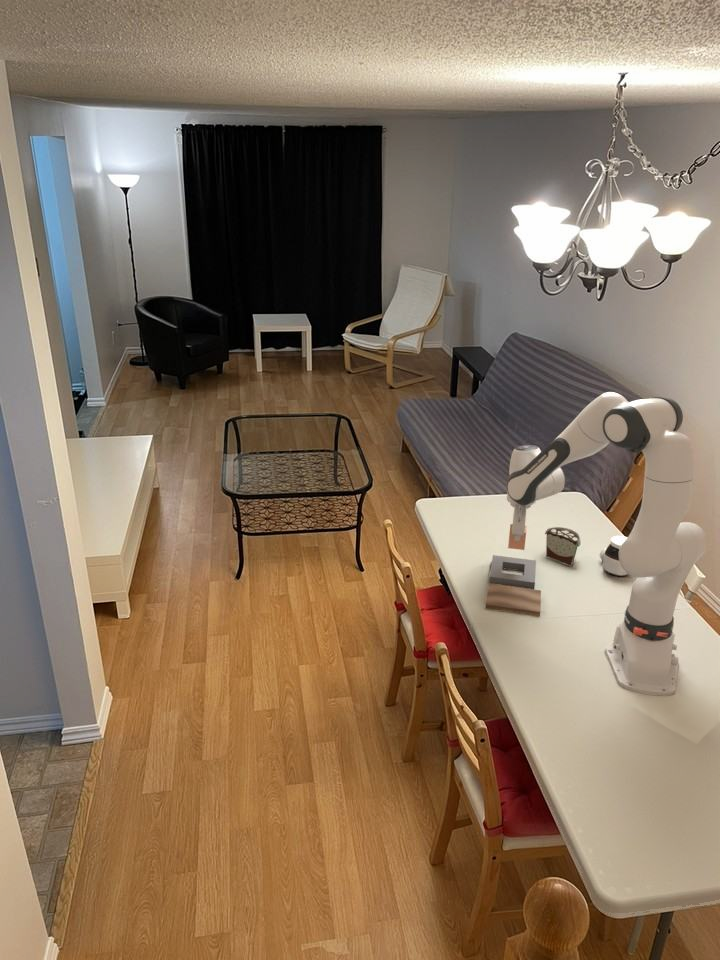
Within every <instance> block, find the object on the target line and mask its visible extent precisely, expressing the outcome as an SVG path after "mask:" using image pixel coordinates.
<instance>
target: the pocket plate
mask: <svg viewBox="0 0 720 960" xmlns="http://www.w3.org/2000/svg"><path fill="white" fill-rule="evenodd" d="M490 567H491V568H490V572H489V581H488V584H489V583H490V584H497V585H504V586H512V587H519V588H527V589H534V590H535V586H536V572H537V571H536V569H537V568H536V567H537V560H536V559H534V560H533V559H527V558H518V557H511V556H502V555H496V554H493V555H492V559H491V565H490ZM504 568H505V569H506V570H512V571H519V572H520V571H521V572H523V574H517V573H510V572H509V573H508V572H503V569H504Z"/></svg>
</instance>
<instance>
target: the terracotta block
mask: <svg viewBox="0 0 720 960" xmlns="http://www.w3.org/2000/svg"><path fill="white" fill-rule="evenodd" d="M512 525H513V523H510V526H509V534H508V547H507V548H508V549H511V550H512V549H513V550H520V551H522V550H523V551H524V550H525V547H526V536H527V527H528V526H527V525H525V530H524V535H523V536H521V537H520V541H515V540H514V537H515V535H513V534H512Z"/></svg>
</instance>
